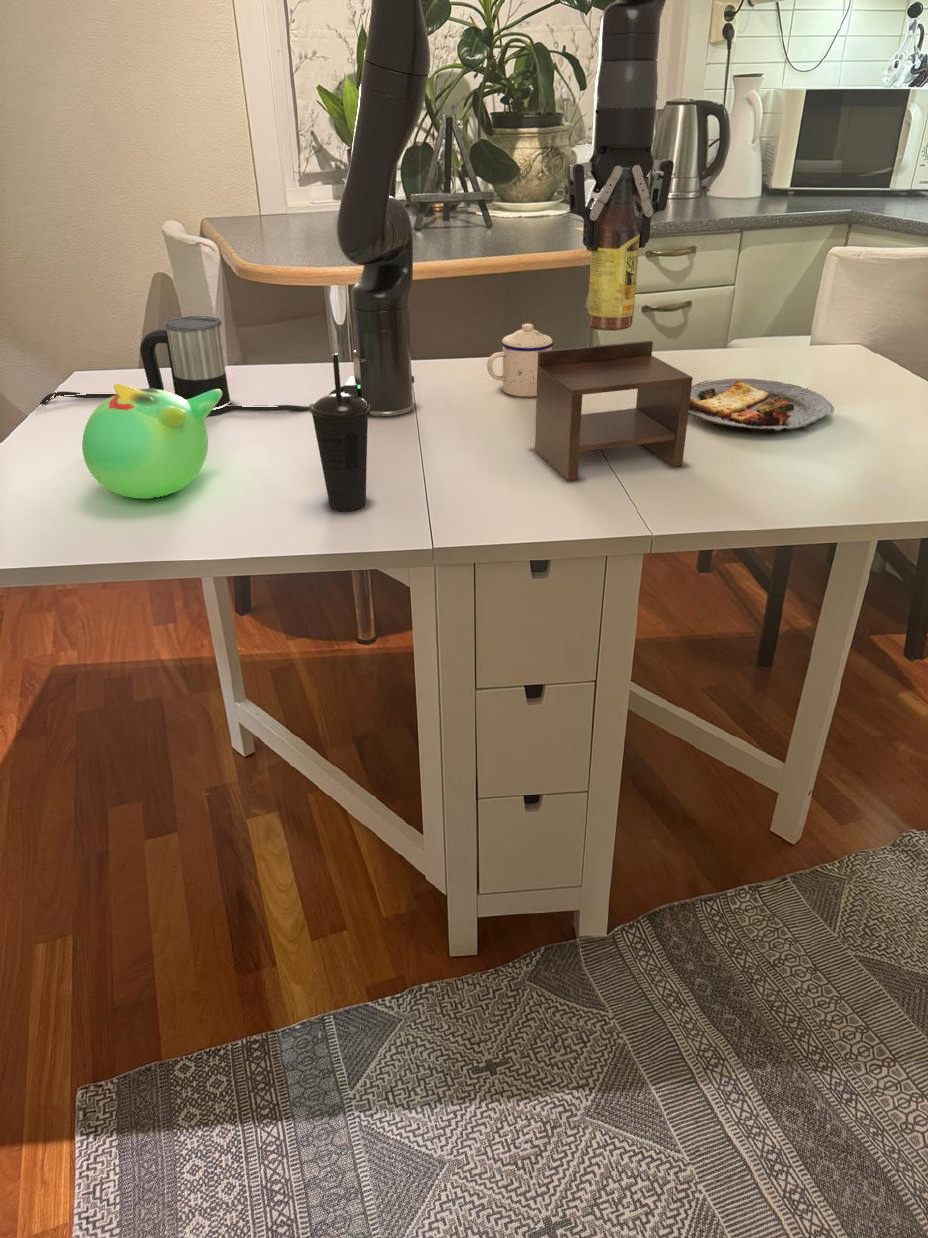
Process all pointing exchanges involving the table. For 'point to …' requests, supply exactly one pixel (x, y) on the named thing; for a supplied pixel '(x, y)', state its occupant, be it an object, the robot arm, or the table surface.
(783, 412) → the food plate
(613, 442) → the shelf
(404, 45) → the robot arm
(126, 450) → the toy bird
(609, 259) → the sauce bottle
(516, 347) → the teacup with lid
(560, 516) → the table surface
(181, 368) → the milk frother
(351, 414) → the drinking cup
